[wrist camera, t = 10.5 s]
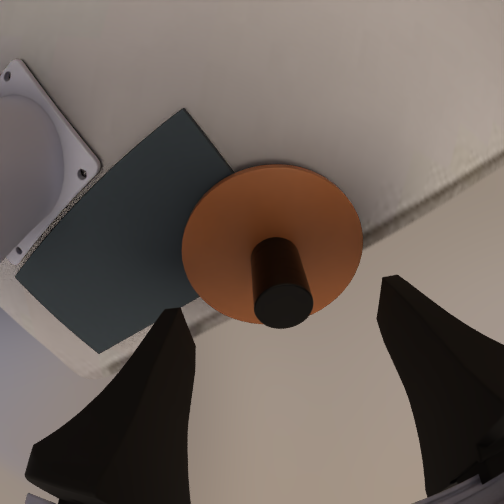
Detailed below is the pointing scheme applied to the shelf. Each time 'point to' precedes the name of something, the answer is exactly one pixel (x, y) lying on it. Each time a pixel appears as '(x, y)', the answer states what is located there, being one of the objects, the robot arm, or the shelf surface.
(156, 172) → the felt mat
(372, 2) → the shelf surface
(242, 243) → the lid
